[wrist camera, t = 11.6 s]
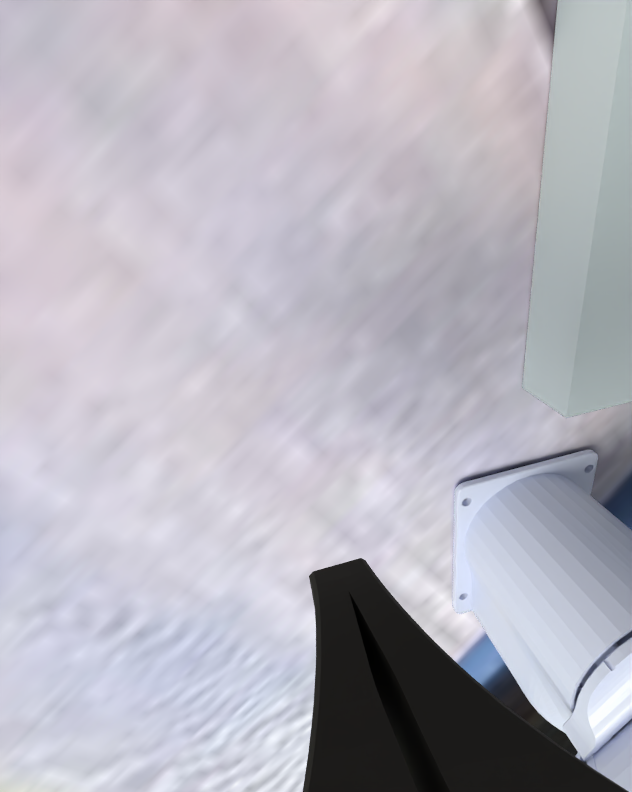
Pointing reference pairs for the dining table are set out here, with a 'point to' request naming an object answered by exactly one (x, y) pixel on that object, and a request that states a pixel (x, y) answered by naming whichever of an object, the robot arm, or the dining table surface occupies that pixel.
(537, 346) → the socket plate
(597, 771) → the robot arm
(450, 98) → the dining table surface
